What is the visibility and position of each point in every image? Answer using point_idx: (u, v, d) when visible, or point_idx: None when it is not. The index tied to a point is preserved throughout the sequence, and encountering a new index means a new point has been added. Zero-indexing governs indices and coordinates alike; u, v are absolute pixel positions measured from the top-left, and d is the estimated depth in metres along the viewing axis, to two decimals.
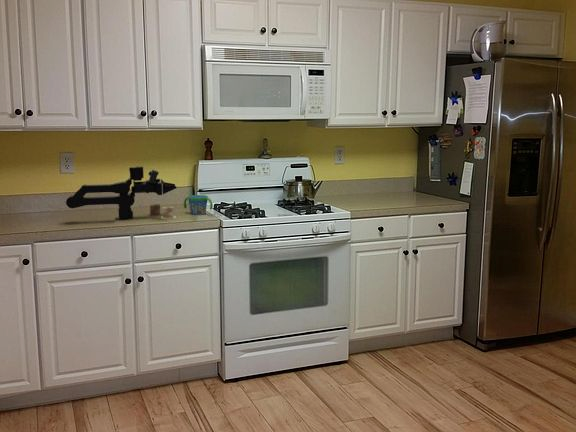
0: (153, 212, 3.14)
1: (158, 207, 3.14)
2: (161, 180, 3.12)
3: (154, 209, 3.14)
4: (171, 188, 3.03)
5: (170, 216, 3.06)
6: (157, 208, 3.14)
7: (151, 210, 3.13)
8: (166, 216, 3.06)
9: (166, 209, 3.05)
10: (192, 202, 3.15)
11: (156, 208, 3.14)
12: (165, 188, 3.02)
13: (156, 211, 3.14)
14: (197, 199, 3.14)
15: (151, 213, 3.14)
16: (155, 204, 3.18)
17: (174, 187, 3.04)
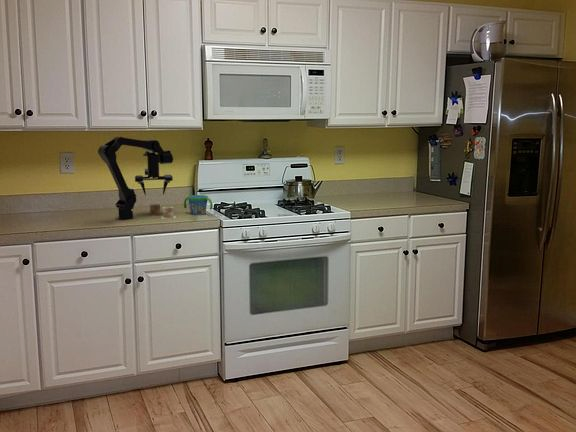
0: (153, 212, 3.14)
1: (158, 207, 3.14)
2: (143, 181, 3.15)
3: (154, 209, 3.14)
4: None
5: (170, 216, 3.06)
6: (157, 208, 3.14)
7: (151, 210, 3.13)
8: (166, 216, 3.06)
9: (166, 209, 3.05)
10: (192, 202, 3.15)
11: (156, 208, 3.14)
12: None
13: (156, 211, 3.14)
14: (197, 199, 3.14)
15: (151, 213, 3.14)
16: (155, 204, 3.18)
17: (164, 192, 3.16)
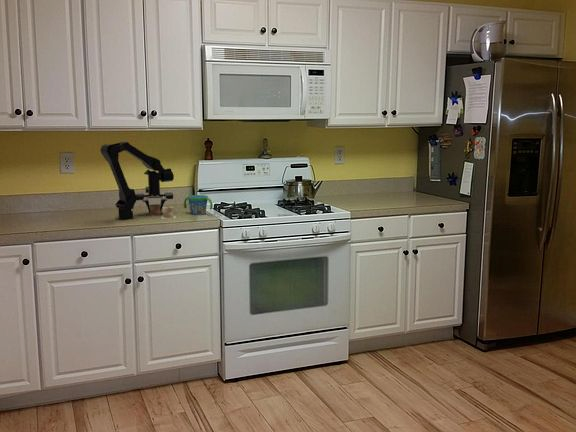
0: (153, 212, 3.14)
1: (158, 207, 3.14)
2: None
3: (154, 209, 3.14)
4: None
5: (170, 216, 3.06)
6: (157, 208, 3.14)
7: (151, 210, 3.13)
8: (166, 216, 3.06)
9: (166, 209, 3.05)
10: (192, 202, 3.15)
11: (156, 208, 3.14)
12: None
13: (156, 211, 3.14)
14: (197, 199, 3.14)
15: (151, 213, 3.14)
16: (155, 204, 3.18)
17: (161, 210, 3.17)
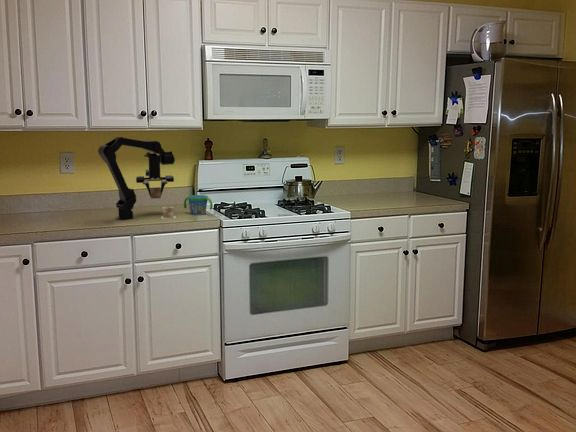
0: (153, 195, 3.12)
1: (158, 190, 3.12)
2: None
3: (154, 192, 3.11)
4: (162, 190, 3.14)
5: (170, 216, 3.06)
6: (158, 191, 3.12)
7: (151, 193, 3.11)
8: (166, 216, 3.06)
9: (166, 209, 3.05)
10: (192, 202, 3.15)
11: (157, 191, 3.12)
12: None
13: (156, 194, 3.12)
14: (197, 199, 3.14)
15: (151, 196, 3.11)
16: None
17: (161, 193, 3.15)
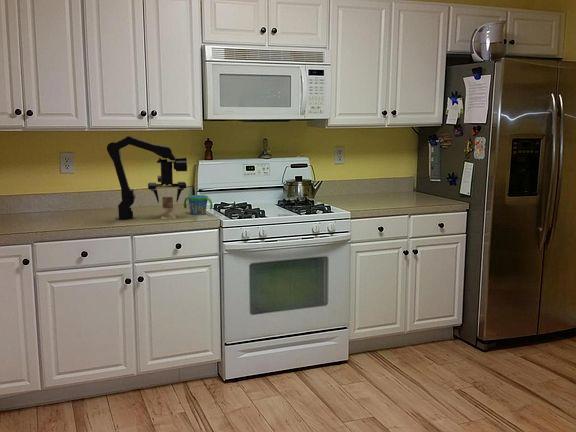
0: (165, 204, 3.05)
1: (171, 199, 3.05)
2: None
3: (167, 201, 3.05)
4: (178, 197, 3.08)
5: (170, 216, 3.06)
6: (170, 200, 3.05)
7: (163, 203, 3.04)
8: (166, 216, 3.06)
9: (166, 209, 3.05)
10: (192, 202, 3.15)
11: (169, 201, 3.05)
12: None
13: (168, 203, 3.05)
14: (197, 199, 3.14)
15: (164, 206, 3.05)
16: None
17: (177, 200, 3.08)
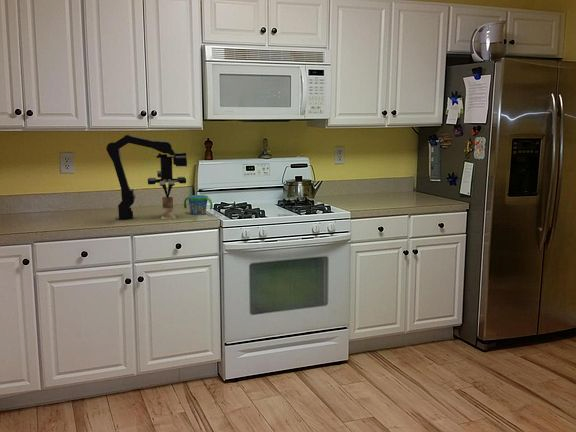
0: (165, 204, 3.05)
1: (171, 199, 3.05)
2: None
3: (167, 201, 3.05)
4: (169, 192, 3.06)
5: (170, 216, 3.06)
6: (170, 200, 3.05)
7: (163, 203, 3.04)
8: (166, 216, 3.06)
9: (166, 209, 3.05)
10: (192, 202, 3.15)
11: (169, 201, 3.05)
12: None
13: (168, 203, 3.05)
14: (197, 199, 3.14)
15: (164, 206, 3.05)
16: None
17: (168, 195, 3.07)
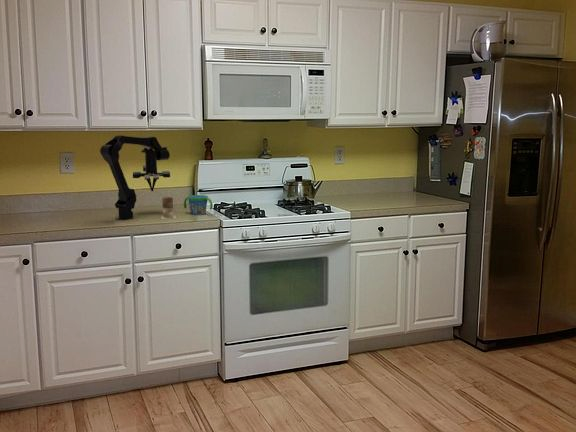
0: (165, 204, 3.05)
1: (171, 199, 3.05)
2: None
3: (167, 201, 3.05)
4: None
5: (170, 216, 3.06)
6: (170, 200, 3.05)
7: (163, 203, 3.04)
8: (166, 216, 3.06)
9: (166, 209, 3.05)
10: (192, 202, 3.15)
11: (169, 201, 3.05)
12: None
13: (168, 203, 3.05)
14: (197, 199, 3.14)
15: (164, 206, 3.05)
16: None
17: None
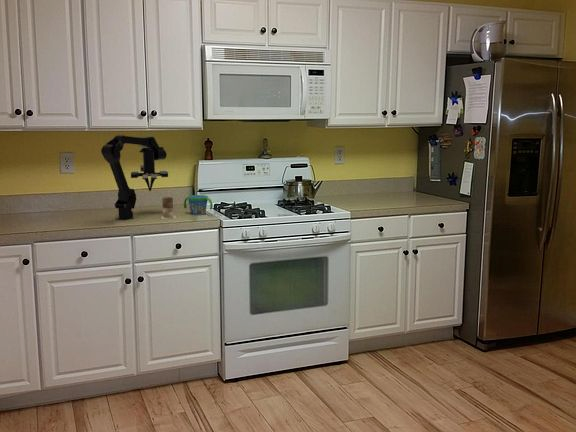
0: (165, 204, 3.05)
1: (171, 199, 3.05)
2: None
3: (167, 201, 3.05)
4: None
5: (170, 216, 3.06)
6: (170, 200, 3.05)
7: (163, 203, 3.04)
8: (166, 216, 3.06)
9: (166, 209, 3.05)
10: (192, 202, 3.15)
11: (169, 201, 3.05)
12: None
13: (168, 203, 3.05)
14: (197, 199, 3.14)
15: (164, 206, 3.05)
16: None
17: None
